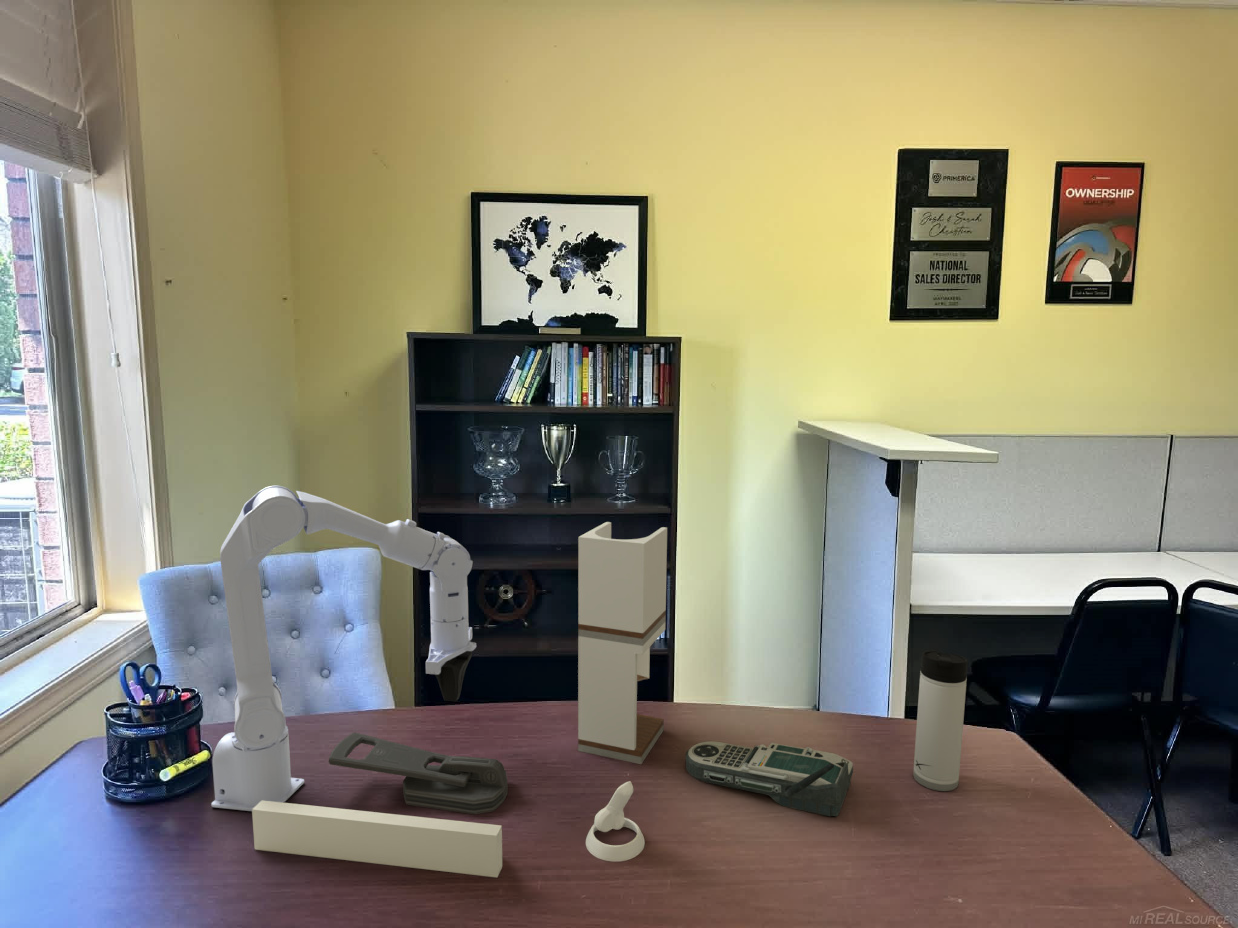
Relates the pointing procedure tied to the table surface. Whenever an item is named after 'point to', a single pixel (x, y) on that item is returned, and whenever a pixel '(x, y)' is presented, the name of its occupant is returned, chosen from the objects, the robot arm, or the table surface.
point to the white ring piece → (615, 820)
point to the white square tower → (618, 639)
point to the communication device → (776, 773)
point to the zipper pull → (431, 774)
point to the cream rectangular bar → (378, 838)
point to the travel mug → (940, 720)
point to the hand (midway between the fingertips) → (451, 699)
